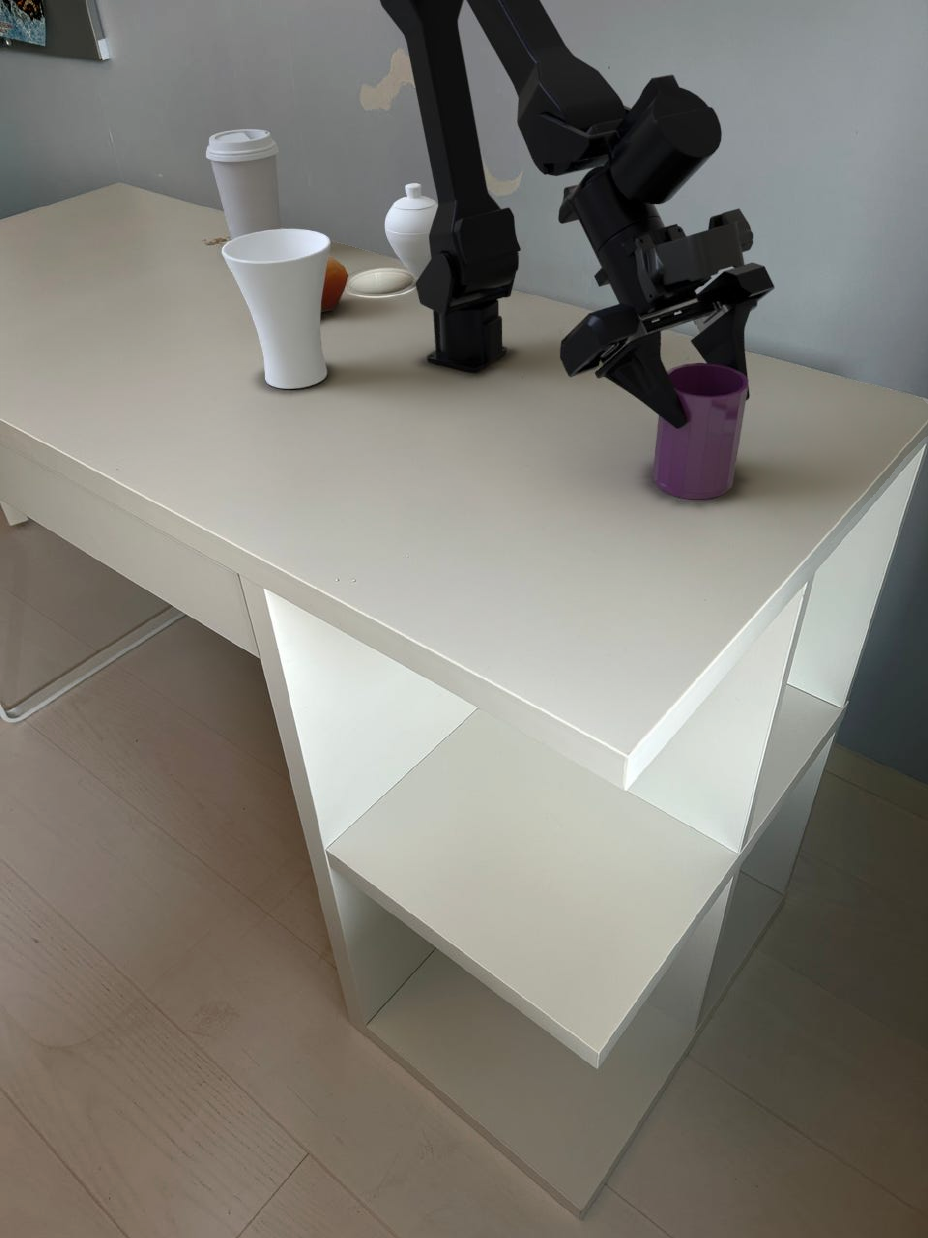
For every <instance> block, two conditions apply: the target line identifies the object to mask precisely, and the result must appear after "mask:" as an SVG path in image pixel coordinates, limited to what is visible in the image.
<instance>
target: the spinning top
mask: <svg viewBox="0 0 928 1238" xmlns="http://www.w3.org/2000/svg"><path fill="white" fill-rule="evenodd" d="M404 189H405V194H406V196H403V197H402V198H399V199H397V200H396V201H394V202H393V203H392V206H391V207H390V208H389V210H388V212H387V214H386V216H385V219H384V232H385V235H386V239H387V241H388V242H389V244H390V247H391V248H392V250H393V251H394V253H395V255H396V256H397V257H398V259H400V261H401V262H402V264H403V265H404V266H405V267H406V268H407V270H408V271H409V272H410V273H411V274H412V275H413V276H414V277H415V278H416V279H418V278H419V277H420V275H421V274H422V272H423V271H424V269H425V268H426V266H427V265H428V263H429V262H430V260H431V251H430V243H429V234H430V230H431V227H432V224H433V220H434V217H435V214H436V210H437V207H438V203H437V202H436V201H435V200H434V199H433V198H430V197H428V196H424V195H422V184H420V183H416V182H413V183H408V184H407V183H406V185H405V188H404Z"/></svg>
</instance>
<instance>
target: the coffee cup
mask: <svg viewBox="0 0 928 1238" xmlns="http://www.w3.org/2000/svg"><path fill="white" fill-rule="evenodd" d="M279 152H280V149H279V146H278V144H277V142H276V141H275V140H274V139H273V138H272V135H271V132H269V131H268V130H265V129H255V128H246V129H245V128H244V129H233V130H227V131H220V132H217V133H214V134H212V135H210V137H209V138H208V145H207V147H206V150H205V157H206V159H208V160H209V161H210V164H211V168H212V172H213V175H214V178H215V179H214V180H215V181H216V186H217V189H218V194H219V198H220V201H221V204H222V208H223V212H224V215H225V220H226V224H227V227H228V230H229V234H230V238H231V240H233V239H235V238H238V237H241V236H243V235H247V234H251V233H255V232H261V231H267V230H277V229H282V228H281V214H280V200H279V199H280V197H279V185H278V184H279V183H278V182H279V181H278V167H277V166H278V165H277V154H278V153H279Z"/></svg>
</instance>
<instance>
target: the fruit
mask: <svg viewBox="0 0 928 1238" xmlns="http://www.w3.org/2000/svg"><path fill="white" fill-rule="evenodd" d="M348 279H349V274H348V271H347V268H346V267H345V265H343V264H342V263H341V262H339V261H338V260H337V259H335V258H334V257H332V256H328V261H327V267H326V273H325V279H324V286H323V292H322V298H321V313H323V312H330V311H333V310H334V309H335V308H337V306H338V305H339V303H340V301H341V299H342V297H343V294H344V292H345V289H346V287H347V285H348Z"/></svg>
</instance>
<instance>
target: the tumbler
mask: <svg viewBox="0 0 928 1238" xmlns="http://www.w3.org/2000/svg"><path fill="white" fill-rule="evenodd" d="M666 371H667V373H668V375H669V377H670V380H671V382H672V384H673V386H674V388H675V391H676V393H677V395H678V397H679V399H680V402H681V404H682V407H683V410H684V412H685V415H686V418H687V424H686V425H685V426H683V427H682V428H679V429H676V428H675V427H674V426H672V425H671V424H670V423H668V422H667V421H666V420H665V419H663V418H662V417H661V416H659V415H658V418H657V419H658V420H657V428H656V429H657V430H656V438H655V439H656V440H655V449H654V460H653V462H654V463H653V470H652V473H653V475H652V479H653V482H654V485H655V486H656V487H657V488H658V489H660V490H661V491H662V492H664V493H665V494H667V495H670V496H674V497H676V498H679V499H680V498H681V499H685V500H709V499H714V498H717V497H720V496H723V495H724V494H726V493H727V492H729V491H730V489H731V488H732V487H733V481H734V477H735V472H736V466H737V460H738V453H739V446H740V441H741V434H742V428H743V423H744V415H745V411H746V410H745V409H746V403H747V401H746V397H747V391H748V384H749V381H750V380H749V378H748V379H747V378H746V376H745V375H744V374H743V373H741V372H739V371H737V370H735V369H733V368H731V367H727V366H723V365H718V364H710V363H706V362H694V363H692V362H691V363H684V364H680V365H677V366H674V367H671V368H670V369H668V370H666Z"/></svg>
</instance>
